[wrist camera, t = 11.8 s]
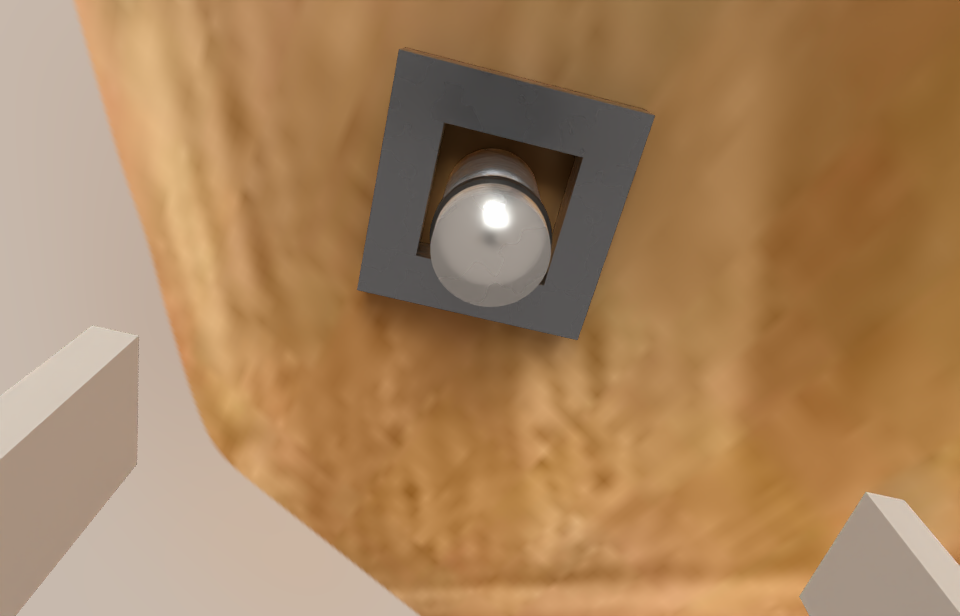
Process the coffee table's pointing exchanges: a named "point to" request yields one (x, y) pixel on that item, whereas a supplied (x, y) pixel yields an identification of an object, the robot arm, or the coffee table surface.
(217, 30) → the coffee table surface
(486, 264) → the piston
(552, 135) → the bore plate
